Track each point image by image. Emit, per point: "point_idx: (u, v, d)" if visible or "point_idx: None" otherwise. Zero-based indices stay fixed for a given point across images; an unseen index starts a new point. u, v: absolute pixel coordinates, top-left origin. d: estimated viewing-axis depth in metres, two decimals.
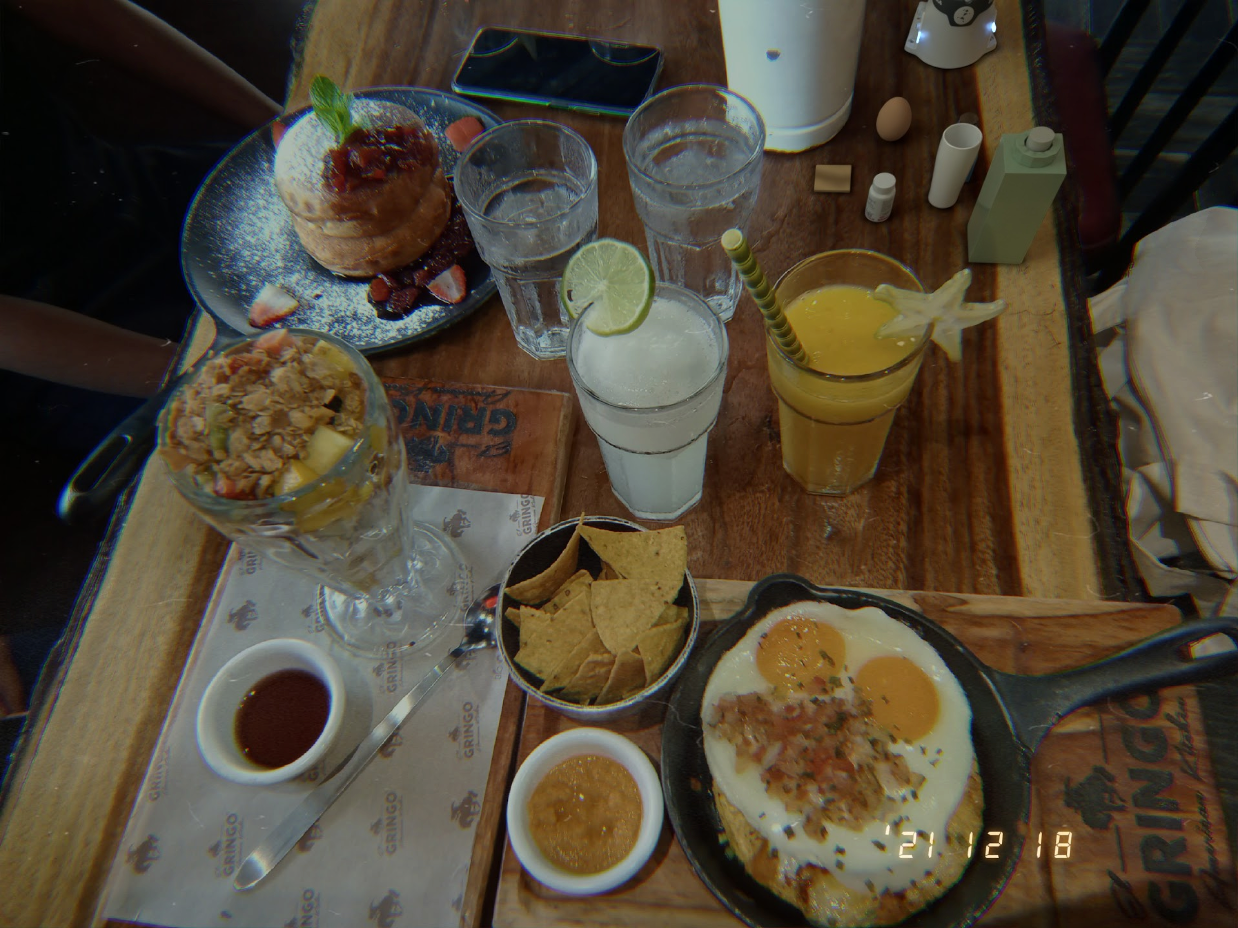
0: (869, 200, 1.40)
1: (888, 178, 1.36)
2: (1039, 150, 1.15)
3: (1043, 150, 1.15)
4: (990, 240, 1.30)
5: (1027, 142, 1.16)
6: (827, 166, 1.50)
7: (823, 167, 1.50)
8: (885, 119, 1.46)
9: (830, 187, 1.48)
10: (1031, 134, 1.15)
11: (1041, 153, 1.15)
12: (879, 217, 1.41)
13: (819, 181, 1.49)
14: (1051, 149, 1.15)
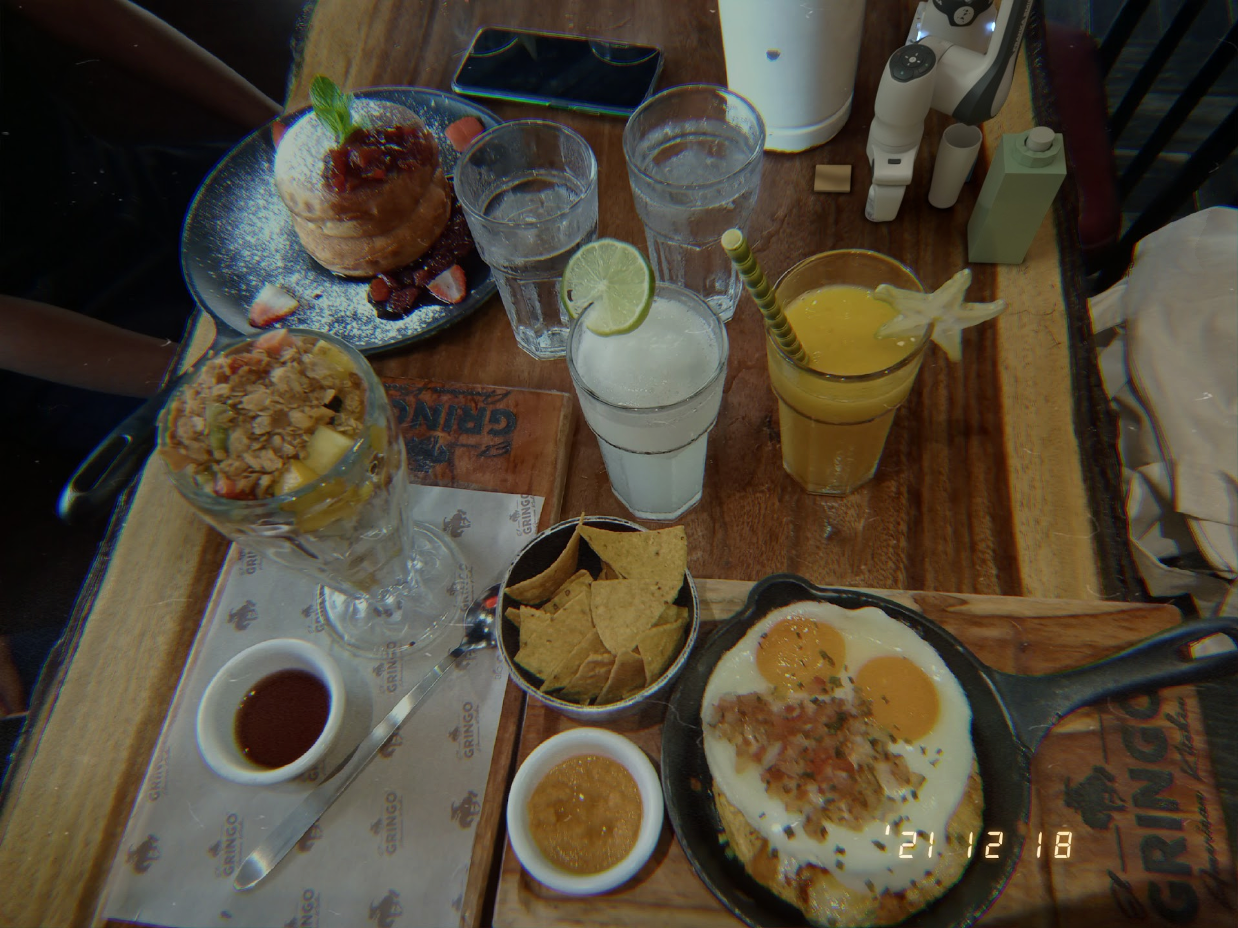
0: (869, 200, 1.40)
1: None
2: (1039, 150, 1.15)
3: (1043, 150, 1.15)
4: (990, 240, 1.30)
5: (1027, 142, 1.16)
6: (827, 166, 1.50)
7: (823, 167, 1.50)
8: None
9: (830, 187, 1.48)
10: (1031, 134, 1.15)
11: (1041, 153, 1.15)
12: None
13: (819, 181, 1.49)
14: (1051, 149, 1.15)
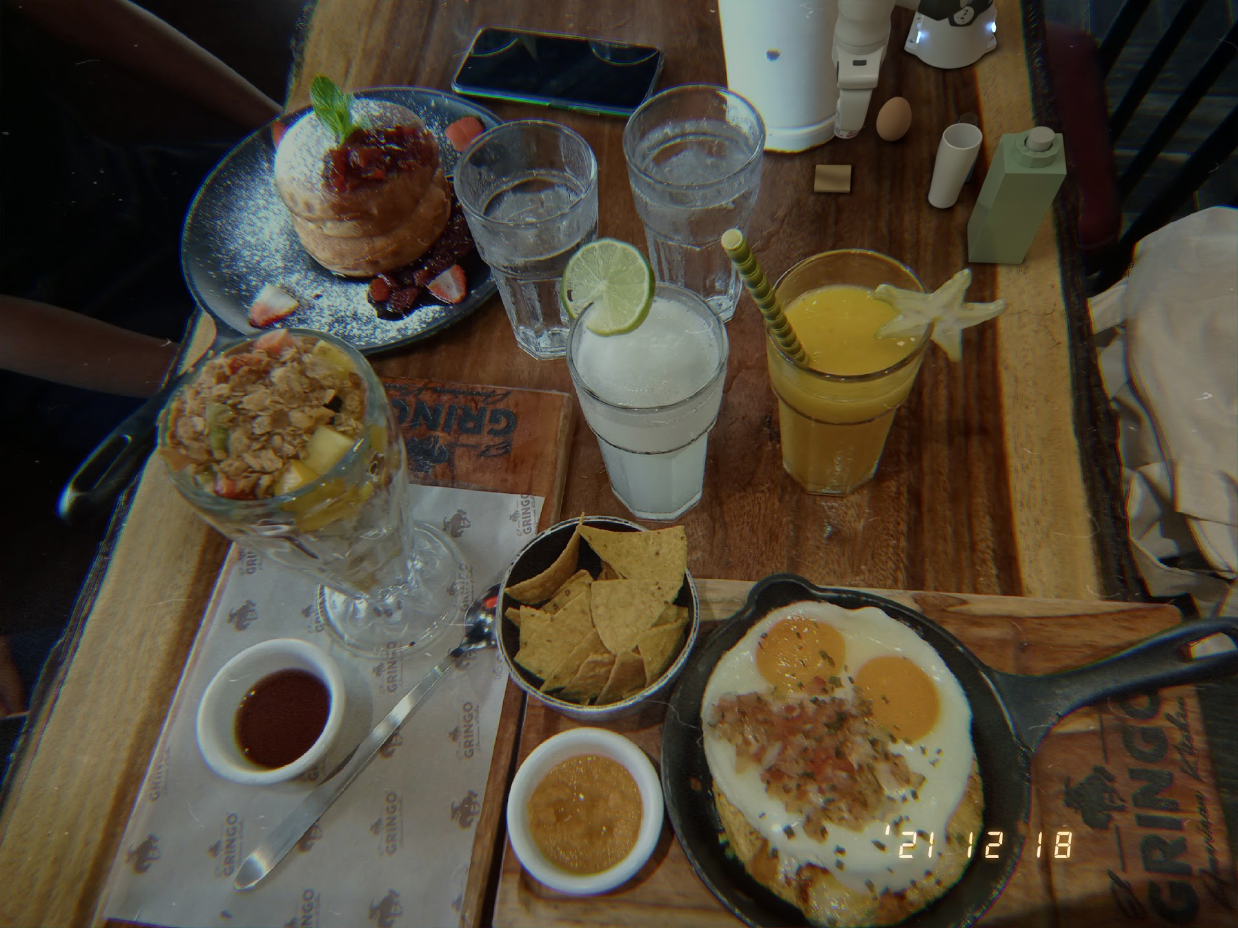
0: (837, 114, 1.33)
1: None
2: (1039, 150, 1.15)
3: (1043, 150, 1.15)
4: (990, 240, 1.30)
5: (1027, 142, 1.16)
6: (827, 166, 1.50)
7: (823, 167, 1.50)
8: (885, 119, 1.46)
9: (830, 187, 1.48)
10: (1031, 134, 1.15)
11: (1041, 153, 1.15)
12: (848, 132, 1.35)
13: (819, 181, 1.49)
14: (1051, 149, 1.15)
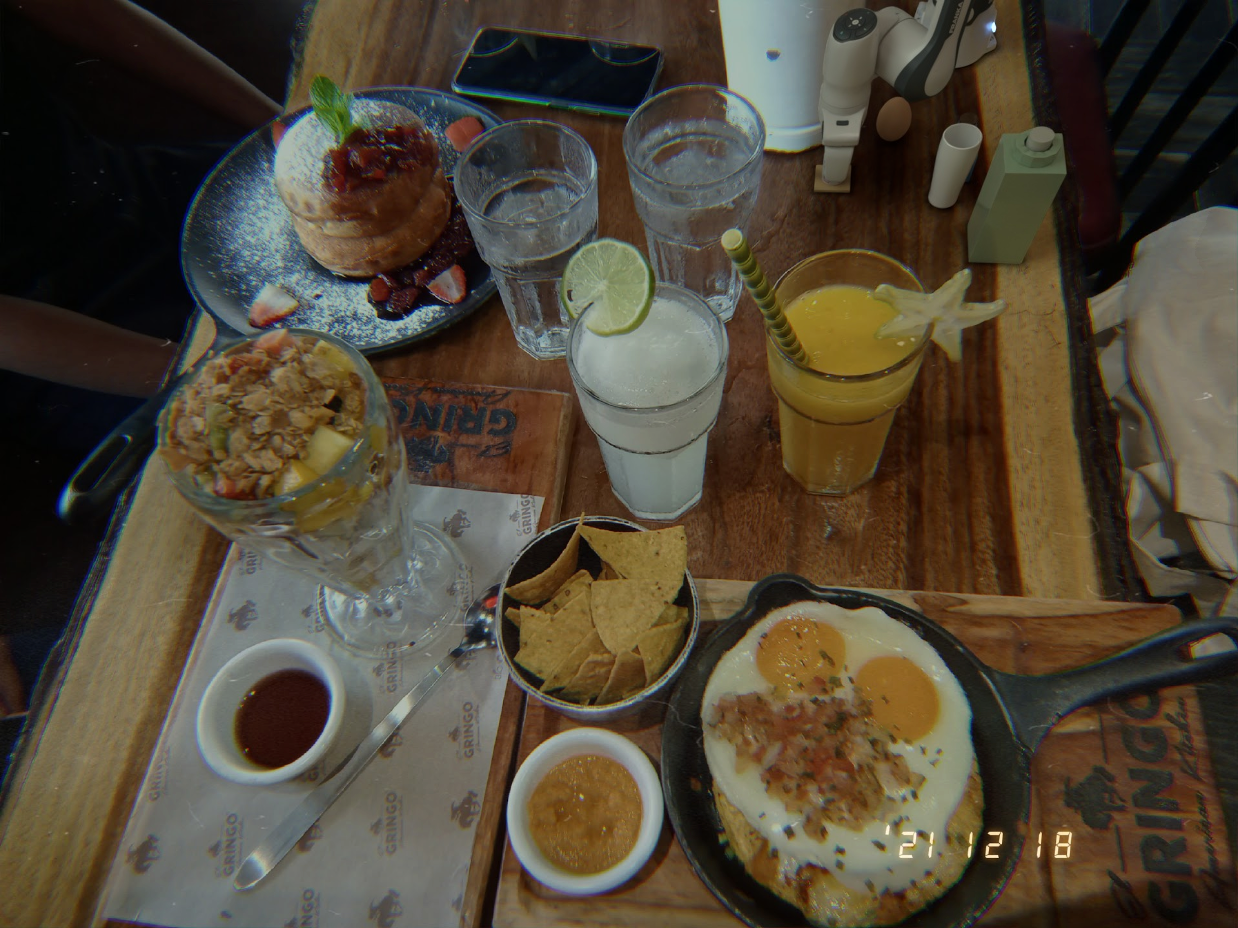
0: (824, 163, 1.45)
1: None
2: (1039, 150, 1.15)
3: (1043, 150, 1.15)
4: (990, 240, 1.30)
5: (1027, 142, 1.16)
6: None
7: None
8: (885, 119, 1.46)
9: (830, 187, 1.48)
10: (1031, 134, 1.15)
11: (1041, 153, 1.15)
12: None
13: (819, 181, 1.49)
14: (1051, 149, 1.15)
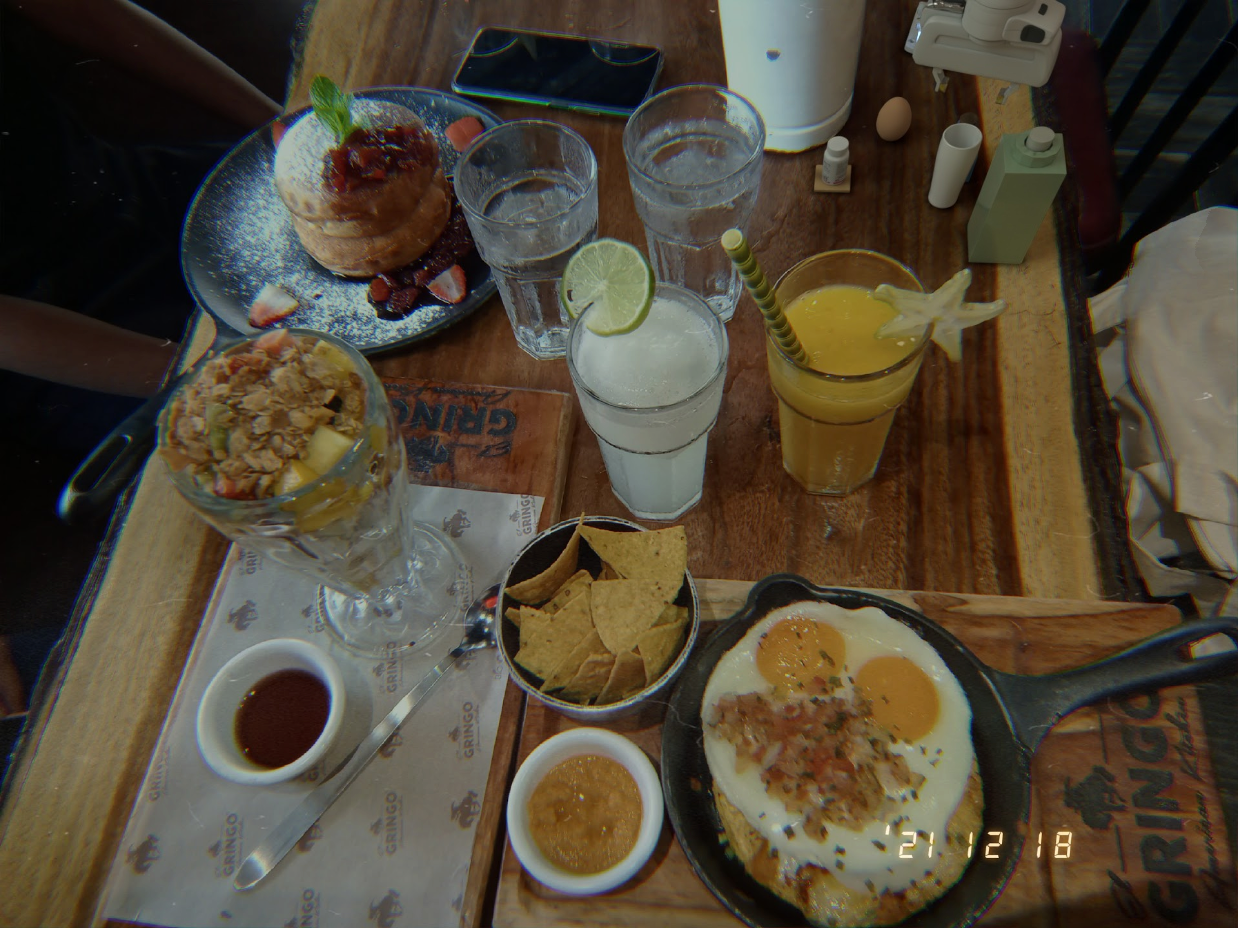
0: (824, 163, 1.45)
1: (841, 141, 1.41)
2: (1039, 150, 1.15)
3: (1043, 150, 1.15)
4: (990, 240, 1.30)
5: (1027, 142, 1.16)
6: None
7: None
8: (885, 119, 1.46)
9: (830, 187, 1.48)
10: (1031, 134, 1.15)
11: (1041, 153, 1.15)
12: (834, 180, 1.46)
13: (819, 181, 1.49)
14: (1051, 149, 1.15)
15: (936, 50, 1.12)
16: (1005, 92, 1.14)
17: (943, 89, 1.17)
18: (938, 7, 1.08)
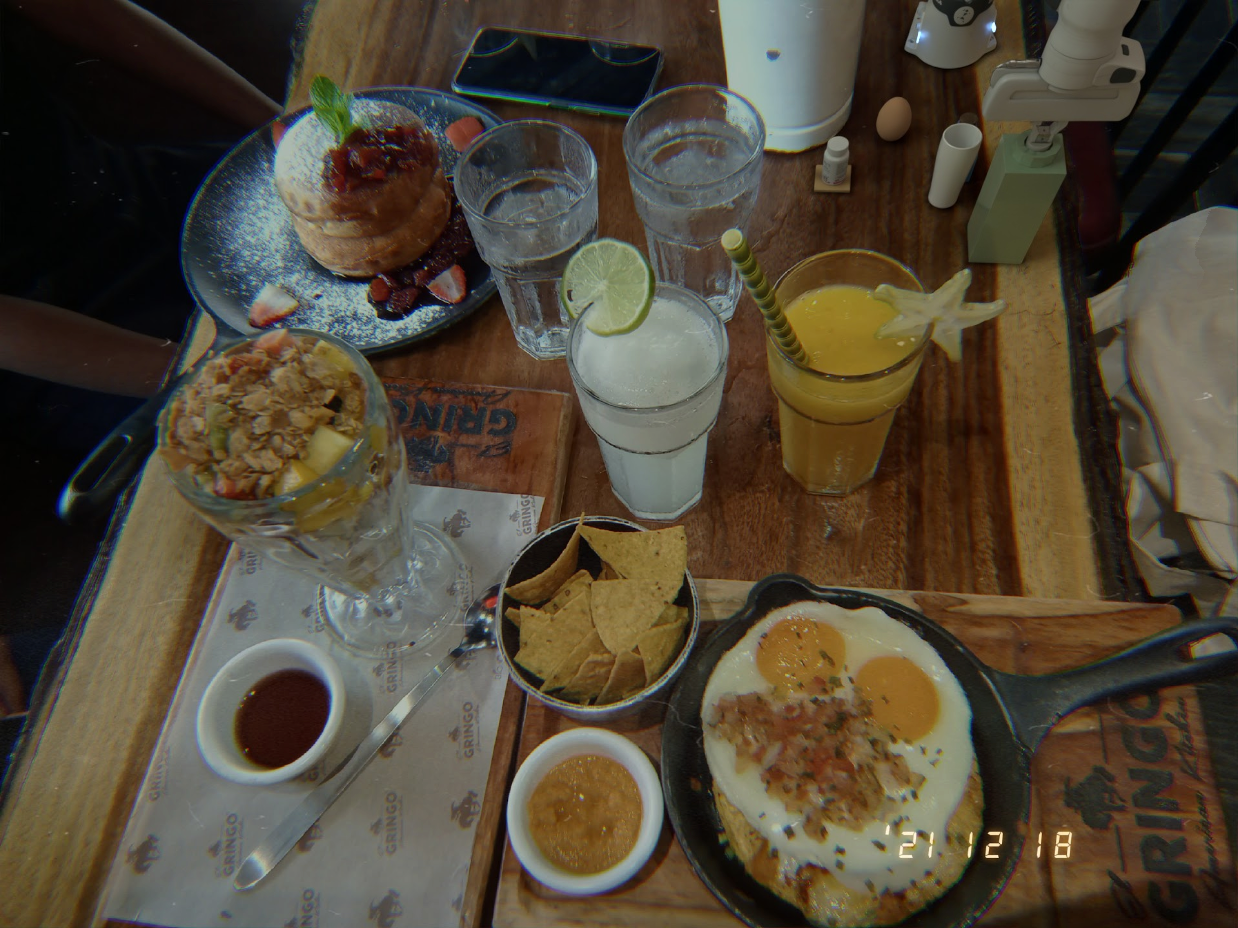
0: (824, 163, 1.45)
1: (841, 141, 1.41)
2: None
3: None
4: (990, 240, 1.30)
5: None
6: None
7: None
8: (885, 119, 1.46)
9: (830, 187, 1.48)
10: (1029, 140, 1.16)
11: (1041, 153, 1.15)
12: (834, 180, 1.46)
13: (819, 181, 1.49)
14: (1051, 149, 1.15)
15: (1011, 105, 1.09)
16: (1051, 130, 1.14)
17: (1041, 139, 1.15)
18: (1012, 66, 1.05)
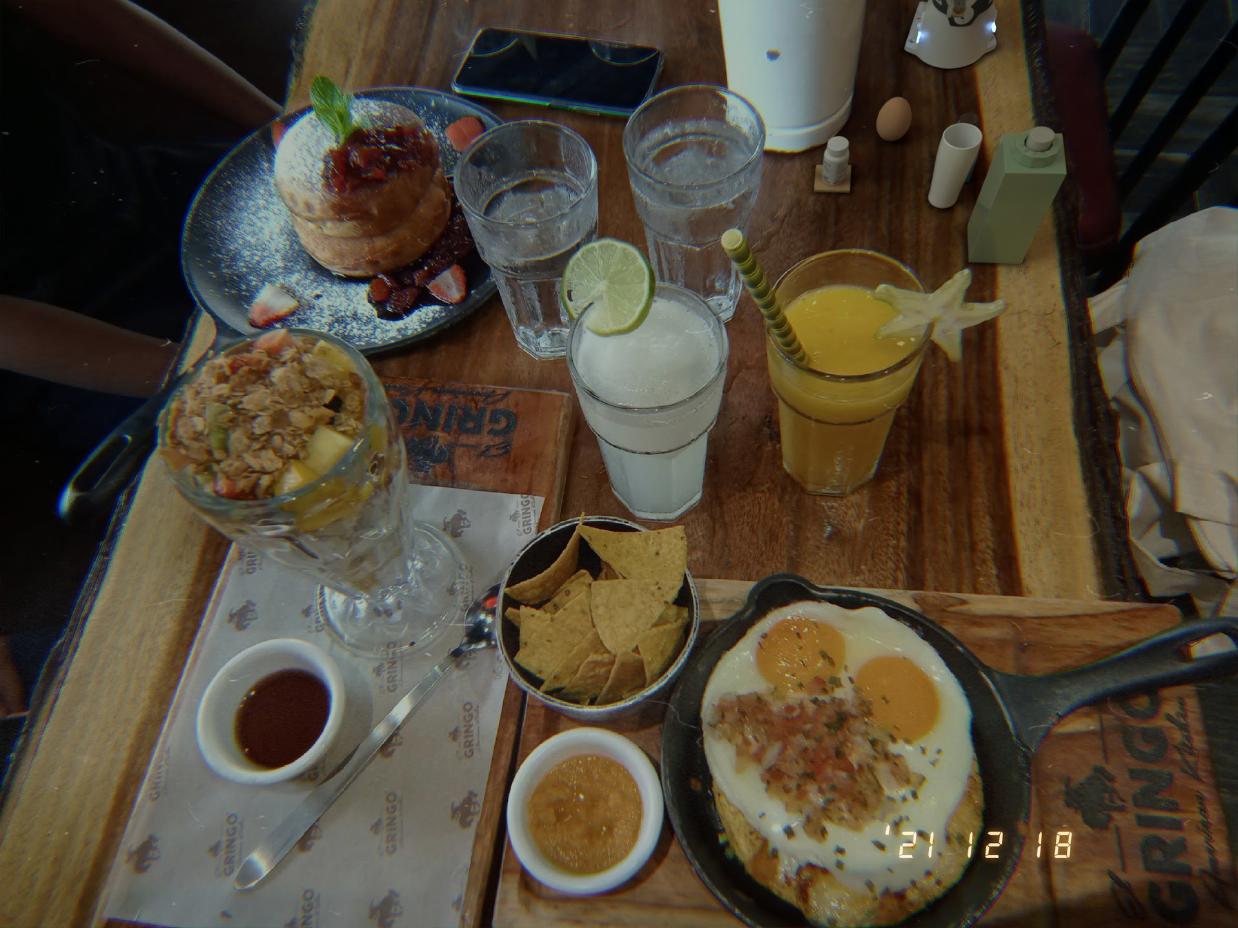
0: (824, 163, 1.45)
1: (841, 141, 1.41)
2: (1039, 150, 1.15)
3: (1043, 150, 1.15)
4: (990, 240, 1.30)
5: (1027, 142, 1.16)
6: None
7: None
8: (885, 119, 1.46)
9: (830, 187, 1.48)
10: (1031, 134, 1.15)
11: (1041, 153, 1.15)
12: (834, 180, 1.46)
13: (819, 181, 1.49)
14: (1051, 149, 1.15)
15: None
16: (966, 3, 1.12)
17: (956, 13, 1.13)
18: None
